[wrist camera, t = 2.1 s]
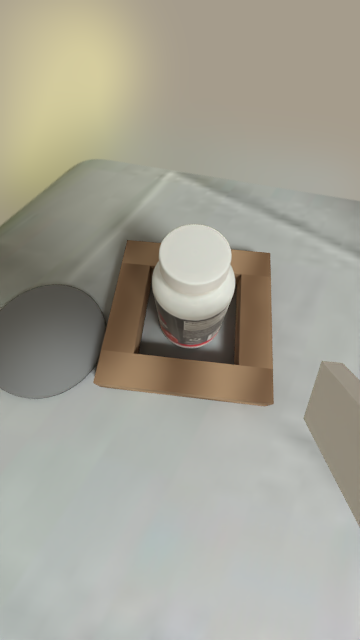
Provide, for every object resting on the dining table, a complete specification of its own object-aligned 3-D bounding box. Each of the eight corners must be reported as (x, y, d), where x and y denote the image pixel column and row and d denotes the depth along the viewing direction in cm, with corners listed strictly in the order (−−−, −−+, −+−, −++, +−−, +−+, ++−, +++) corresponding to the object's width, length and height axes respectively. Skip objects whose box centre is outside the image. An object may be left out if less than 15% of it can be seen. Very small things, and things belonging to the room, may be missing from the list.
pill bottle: (151, 305, 24) (132, 229, 15) (205, 286, 24) (219, 202, 15) (172, 359, 22) (167, 310, 13) (230, 336, 22) (264, 275, 13)
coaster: (116, 292, 24) (115, 290, 24) (90, 405, 20) (88, 405, 20) (12, 282, 25) (9, 279, 24) (-33, 390, 21) (-38, 389, 20)
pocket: (263, 266, 25) (270, 253, 23) (265, 406, 20) (273, 403, 18) (131, 253, 26) (127, 240, 24) (101, 386, 21) (93, 382, 19)
